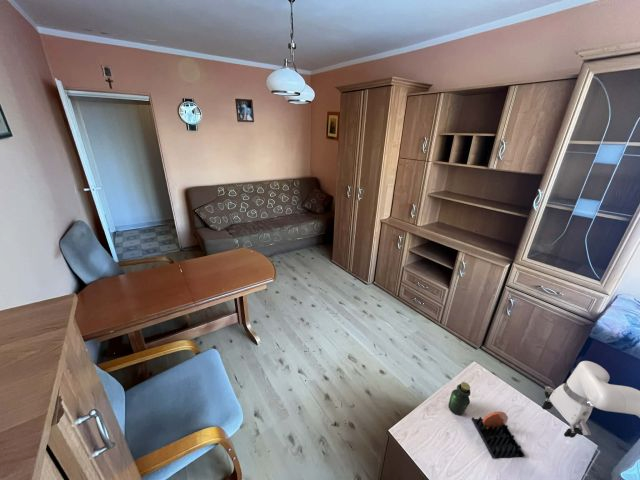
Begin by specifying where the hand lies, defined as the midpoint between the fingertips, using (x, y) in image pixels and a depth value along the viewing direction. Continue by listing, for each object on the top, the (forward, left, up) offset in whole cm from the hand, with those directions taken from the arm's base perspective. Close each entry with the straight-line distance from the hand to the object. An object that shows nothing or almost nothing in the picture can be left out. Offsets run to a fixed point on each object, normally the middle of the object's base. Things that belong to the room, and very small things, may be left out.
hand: (556, 421), depth 99 cm
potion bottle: (+22, +20, -28) cm, 41 cm away
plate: (+13, +8, -28) cm, 31 cm away
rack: (+9, +8, -28) cm, 31 cm away
